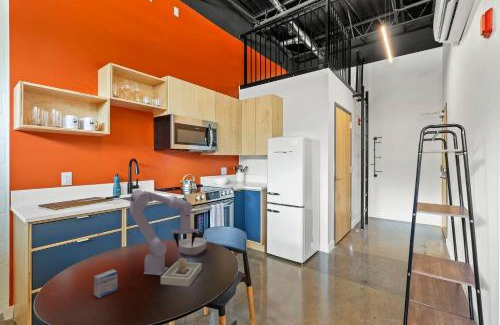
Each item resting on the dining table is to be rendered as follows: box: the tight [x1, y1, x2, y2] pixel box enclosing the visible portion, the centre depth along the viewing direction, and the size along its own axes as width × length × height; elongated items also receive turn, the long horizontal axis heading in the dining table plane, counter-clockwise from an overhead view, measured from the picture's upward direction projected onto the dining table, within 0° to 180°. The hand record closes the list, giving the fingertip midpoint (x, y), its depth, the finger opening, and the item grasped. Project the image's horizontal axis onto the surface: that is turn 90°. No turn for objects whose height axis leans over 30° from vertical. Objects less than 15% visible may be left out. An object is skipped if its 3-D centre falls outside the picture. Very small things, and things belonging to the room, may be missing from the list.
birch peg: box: [177, 257, 188, 274], centre depth 122 cm, size 4×4×8 cm
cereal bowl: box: [178, 237, 207, 257], centre depth 151 cm, size 17×17×7 cm
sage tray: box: [160, 260, 202, 288], centre depth 122 cm, size 14×17×4 cm
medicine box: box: [93, 269, 118, 299], centre depth 107 cm, size 8×4×9 cm, turn 148°
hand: (185, 246), depth 137 cm, fingers open, 7 cm apart
